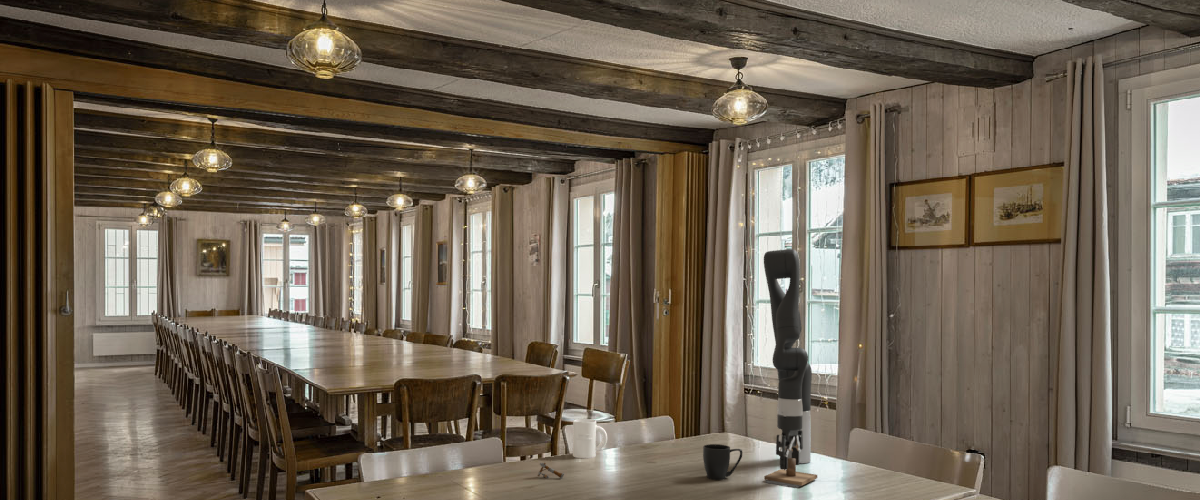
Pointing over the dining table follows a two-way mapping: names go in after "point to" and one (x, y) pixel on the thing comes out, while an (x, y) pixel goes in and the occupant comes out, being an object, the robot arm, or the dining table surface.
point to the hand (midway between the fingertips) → (789, 467)
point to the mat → (782, 483)
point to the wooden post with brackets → (559, 474)
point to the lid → (791, 475)
